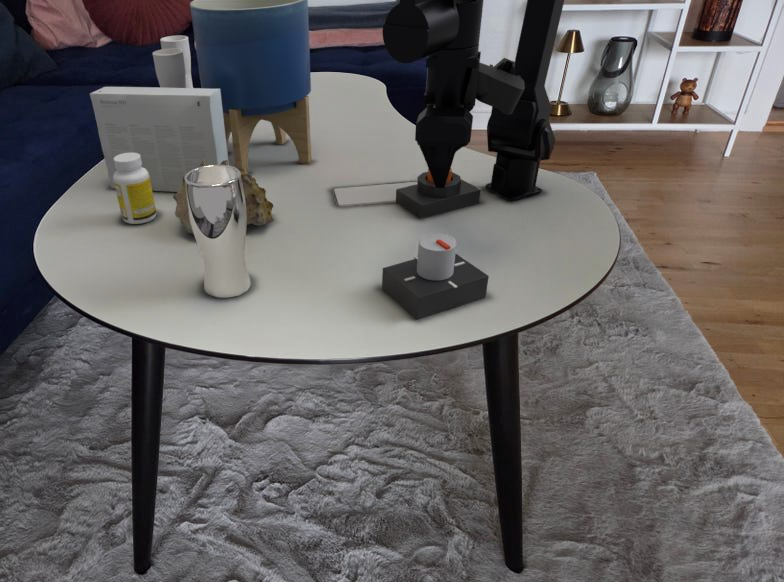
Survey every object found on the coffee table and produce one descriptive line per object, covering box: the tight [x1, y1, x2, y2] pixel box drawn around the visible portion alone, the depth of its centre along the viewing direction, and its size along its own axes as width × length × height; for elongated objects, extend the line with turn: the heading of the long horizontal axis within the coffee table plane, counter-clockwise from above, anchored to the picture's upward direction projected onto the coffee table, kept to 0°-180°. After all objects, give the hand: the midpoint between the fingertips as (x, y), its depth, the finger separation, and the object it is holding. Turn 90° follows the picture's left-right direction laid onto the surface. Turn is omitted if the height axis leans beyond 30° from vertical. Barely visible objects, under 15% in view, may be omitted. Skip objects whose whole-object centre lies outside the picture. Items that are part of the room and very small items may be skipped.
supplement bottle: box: [113, 153, 157, 225], centre depth 98 cm, size 5×5×10 cm
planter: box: [189, 0, 312, 174], centre depth 111 cm, size 19×19×26 cm
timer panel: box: [381, 253, 490, 320], centre depth 78 cm, size 10×9×3 cm
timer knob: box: [417, 233, 457, 281], centre depth 76 cm, size 4×4×4 cm
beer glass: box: [184, 164, 252, 299], centre depth 78 cm, size 7×7×15 cm
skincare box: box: [89, 86, 230, 193], centre depth 106 cm, size 21×5×16 cm, turn 75°
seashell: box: [172, 159, 274, 235], centre depth 94 cm, size 11×14×10 cm
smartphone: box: [331, 180, 417, 208], centre depth 104 cm, size 7×1×15 cm
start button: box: [427, 167, 453, 183], centre depth 97 cm, size 4×4×2 cm
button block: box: [395, 171, 482, 220], centre depth 99 cm, size 11×7×4 cm, turn 116°
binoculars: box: [152, 34, 194, 88], centre depth 123 cm, size 17×5×18 cm, turn 4°
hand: (442, 173), depth 83 cm, fingers open, 9 cm apart
